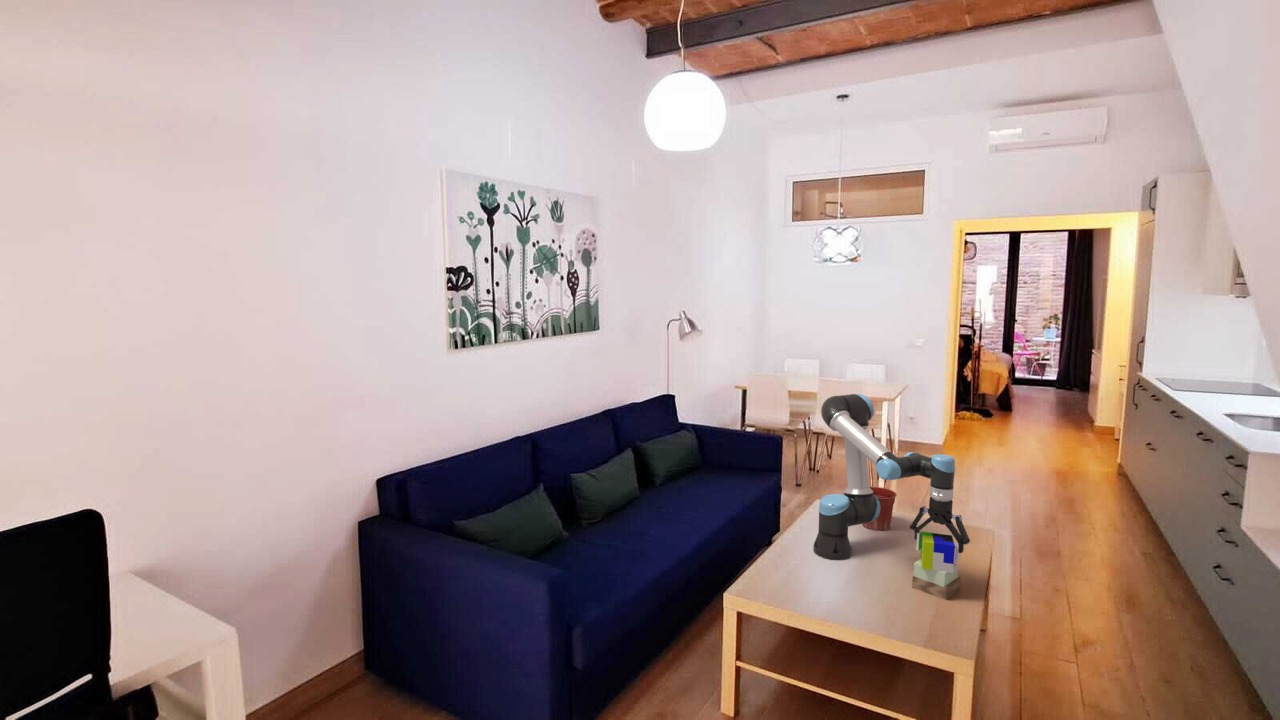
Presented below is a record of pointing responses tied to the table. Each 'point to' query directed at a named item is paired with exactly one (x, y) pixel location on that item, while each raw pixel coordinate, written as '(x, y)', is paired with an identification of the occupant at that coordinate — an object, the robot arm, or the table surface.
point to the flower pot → (882, 509)
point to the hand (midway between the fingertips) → (937, 554)
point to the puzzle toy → (937, 552)
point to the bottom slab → (936, 587)
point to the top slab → (935, 574)
